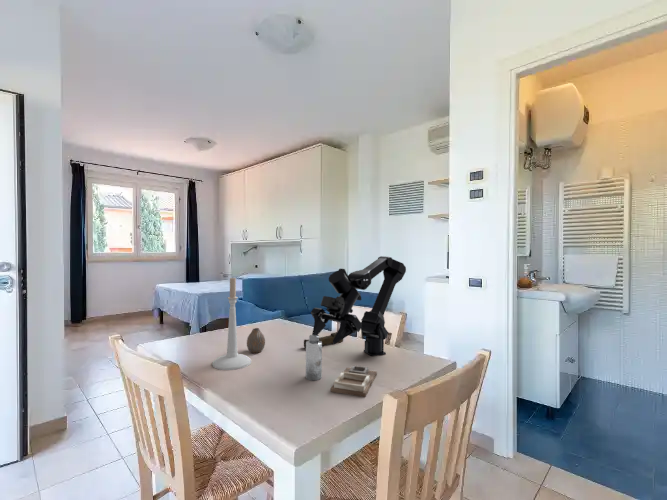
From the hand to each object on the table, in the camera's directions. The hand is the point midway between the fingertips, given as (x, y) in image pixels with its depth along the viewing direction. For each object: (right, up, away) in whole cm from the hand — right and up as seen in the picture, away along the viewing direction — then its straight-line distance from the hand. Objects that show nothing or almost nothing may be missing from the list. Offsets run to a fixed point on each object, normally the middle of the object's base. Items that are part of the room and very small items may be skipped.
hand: (322, 340), depth 109 cm
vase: (-26, -10, +22) cm, 36 cm away
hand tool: (0, -11, +32) cm, 33 cm away
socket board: (+10, -11, -6) cm, 16 cm away
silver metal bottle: (-3, -11, -3) cm, 11 cm away
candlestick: (-32, -10, +9) cm, 35 cm away
